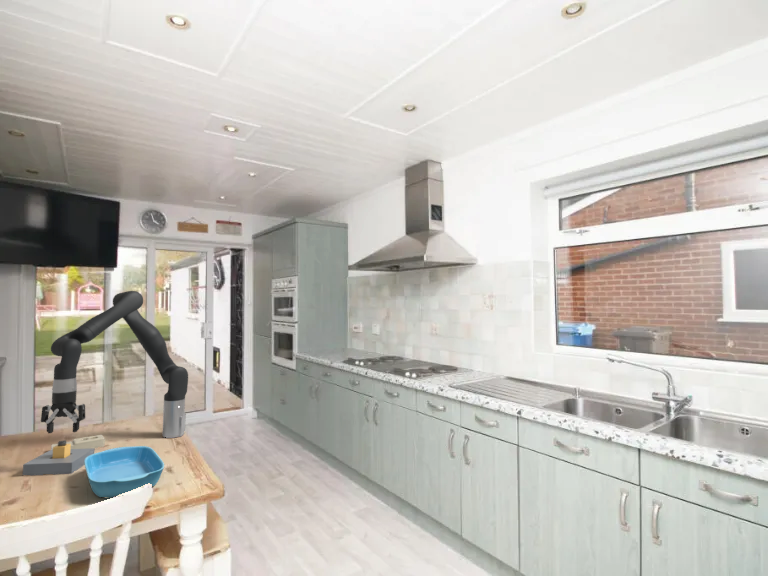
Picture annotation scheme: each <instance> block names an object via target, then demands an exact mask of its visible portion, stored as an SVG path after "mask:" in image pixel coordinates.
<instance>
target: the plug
mask: <svg viewBox="0 0 768 576" xmlns="http://www.w3.org/2000/svg"><path fill="white" fill-rule="evenodd" d="M66 442H68V441H67V440H59V441H58V442H57V444H58V445H57V446H55V447H53V458H52V459H57V458H66V457H67V456H69V455H70V450H71V444H66Z"/></svg>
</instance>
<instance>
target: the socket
mask: <svg viewBox="0 0 768 576" xmlns="http://www.w3.org/2000/svg"><path fill="white" fill-rule="evenodd" d="M95 450H96V448H91V449H71V450H70V455H69V456H67V457H66V458H57V459H52V458H53V450H51V449H50V450H48V451H46V452H44V453H42V454H41V455H40V454H39V456H37V457H35V458H33V459H31V460H29V461H27V462H26V463H23V464H22V465H23V466H22V476H23V475H30V476H44V475H43V474H53V475H69V474H70V475H71V474H73V473H75V472H76V471H78V470H79V469H81V468H82V467H85V464H84V461H85V458H86V457H88V456H89V455H92V454H95V452H96V451H95ZM74 471H75V472H74Z"/></svg>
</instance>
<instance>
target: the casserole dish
mask: <svg viewBox="0 0 768 576" xmlns="http://www.w3.org/2000/svg"><path fill="white" fill-rule="evenodd" d="M84 464H85V465H84V467H85V472H86V475H87V478H88V482H89V484H90V485H89V486H90V488H91V490H92V492H93V493H94V495H96V496H97V497H99V498H101V497H109V498H108V499H112V498H111V497H113V498H115V497H114V496H117V495H119V494H122V493H125V492H128V491H131V490H133V489H136V488H138V487H141V486H143V485H145V484H148V483H150V484H152V486H153V487H154V486H155V485H157V483H158V482H159V480H160V478H161V475H162V474H163V471H164V468H165V463H164V461H163V459H162V458H161V457H160V456H159V454H158V453H157V452H156V451H155V449H153V448H152V447H150V446H147V445H142V446H141V445H138V446H135V445H134V446H121V447H120V446H119V447H115V448H114V447H113V448H109V449H106V450H103V451H100V452H94V454H92V455H89V456H88V457H86V458H85V461H84Z"/></svg>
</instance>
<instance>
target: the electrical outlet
mask: <svg viewBox="0 0 768 576" xmlns="http://www.w3.org/2000/svg"><path fill="white" fill-rule="evenodd" d="M66 444H71V449H91V448H95V449H99V448H98V447H100V448H104V447H105V437H104V435H103V434H97V435H94V436H93V435H91V436H85V437H78V438H74V439H73V440H72V441H71V440H70V441H67V442H66ZM57 445H58V443H52V444H51V447H50V450H53V447H55V446H57Z"/></svg>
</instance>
